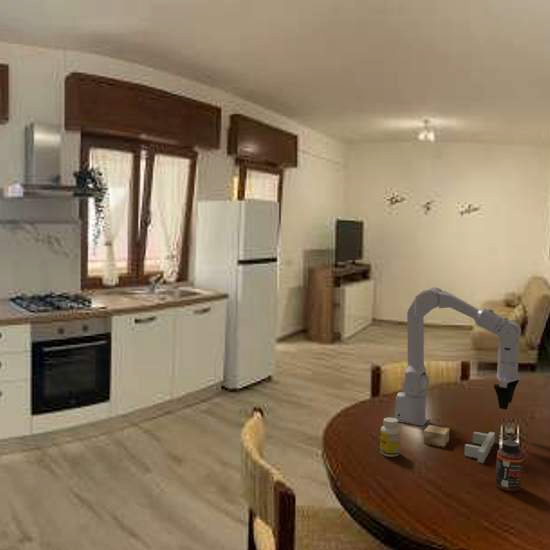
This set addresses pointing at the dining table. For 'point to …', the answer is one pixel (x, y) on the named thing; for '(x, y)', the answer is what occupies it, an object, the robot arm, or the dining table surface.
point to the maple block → (436, 435)
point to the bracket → (478, 451)
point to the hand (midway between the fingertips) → (505, 405)
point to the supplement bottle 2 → (509, 466)
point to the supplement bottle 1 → (390, 438)
